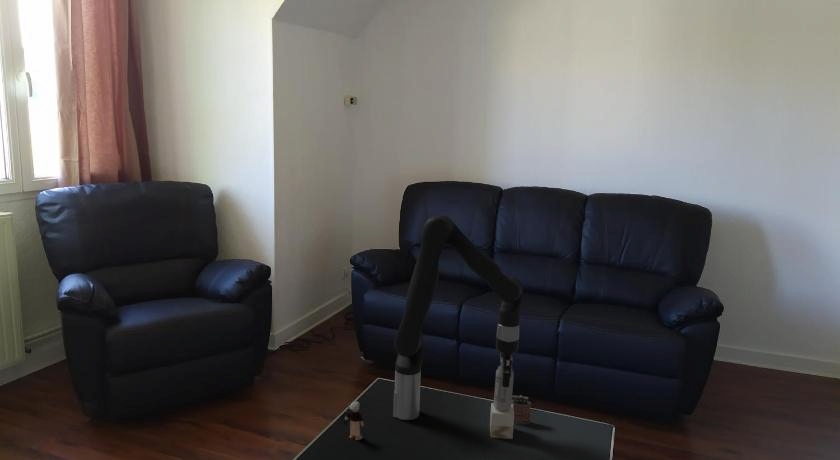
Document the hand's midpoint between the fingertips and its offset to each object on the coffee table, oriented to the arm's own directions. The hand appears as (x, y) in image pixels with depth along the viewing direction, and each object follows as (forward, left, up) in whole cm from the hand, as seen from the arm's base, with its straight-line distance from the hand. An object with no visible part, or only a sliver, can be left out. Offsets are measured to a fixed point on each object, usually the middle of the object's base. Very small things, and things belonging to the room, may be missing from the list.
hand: (504, 381), depth 207 cm
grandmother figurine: (-50, -10, -19) cm, 54 cm away
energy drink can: (0, 0, -10) cm, 10 cm away
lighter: (+7, +9, -19) cm, 22 cm away
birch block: (0, 0, -19) cm, 19 cm away
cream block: (0, 0, -15) cm, 15 cm away
